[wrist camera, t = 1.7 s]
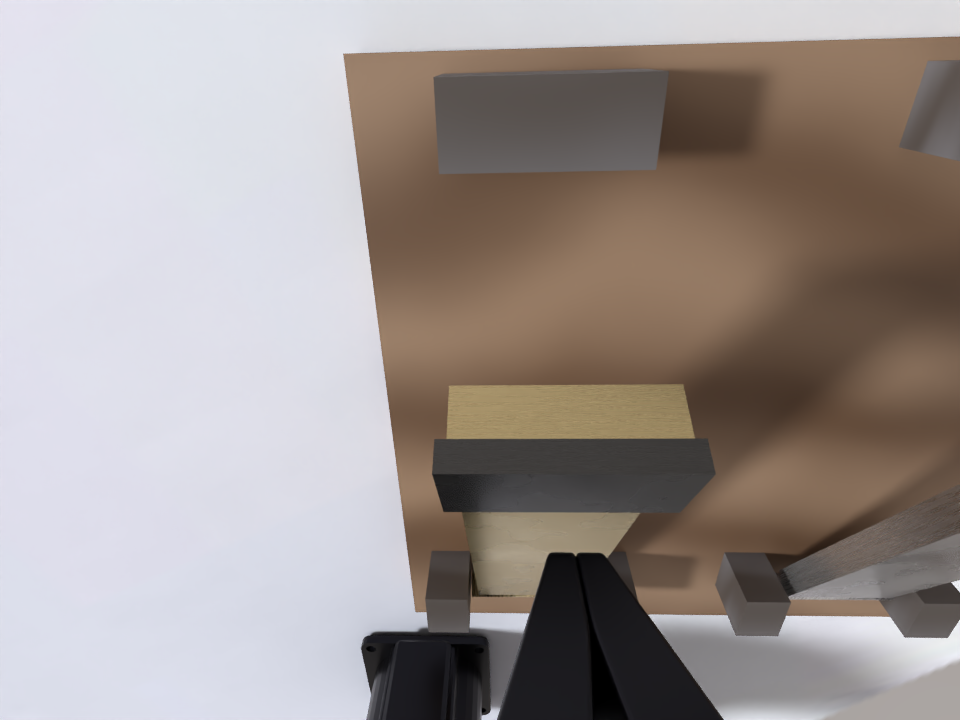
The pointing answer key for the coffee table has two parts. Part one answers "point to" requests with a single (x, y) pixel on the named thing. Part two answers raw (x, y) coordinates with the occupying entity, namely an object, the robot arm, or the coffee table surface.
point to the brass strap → (561, 471)
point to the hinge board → (680, 288)
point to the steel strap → (885, 556)
